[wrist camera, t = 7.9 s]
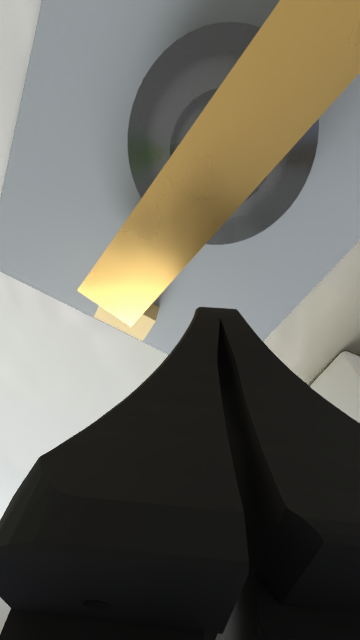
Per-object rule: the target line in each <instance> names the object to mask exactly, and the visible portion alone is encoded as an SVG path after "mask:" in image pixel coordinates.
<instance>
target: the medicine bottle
mask: <svg viewBox="0 0 360 640" xmlns="http://www.w3.org/2000/svg"><path fill="white" fill-rule="evenodd" d="M310 387H311V388H312V389H313V390H314V391H316V392H317V393H318V394H320V395H321V396H322V397H323V398H325V399H326V400H327V401H329V402H330V403H332V404H333V405H334V406H336V407H337V408H339V409H340V410H341V411H343V412H344V413H346V414H347V415H348V416H350V417H351V418H353V419H354V420H356V421H357V422H359V423H360V356H357V355H355V354H352V353H350V352H347V351H344V352H342V353H340V354H339V355H338V356H337V357H336V358H335V359H334V361H333V362H332V363H331V364H330V365H329V366H328V367H327V368H326V369H325V370H324V371H323V372H322V373H321V374H320V375H319V377H318V378H317V379H316V380H315V381H314V382H313V383H312V384H311V385H310Z"/></svg>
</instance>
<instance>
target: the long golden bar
mask: <svg viewBox="0 0 360 640" xmlns="http://www.w3.org/2000/svg"><path fill="white" fill-rule="evenodd" d="M359 73H360V0H280V1H279V2H278V4H277V5H276V7H275V8H274V10H273V11H272V12H271V14H270V15H269V17H268V18H267V20H266V21H265V22H264V24H263V25H262V27H261V28H260V27H257V26H254V25H251V24H248V23H240V22H220V23H214V24H210V25H206V26H202V27H200V28H198V29H196V30H193V31H191V32H189V33H187V34H186V35H184V36H182V37H181V38H179V39H178V40H176V41H175V42H174V43H173V44H171V45H170V46H169V47H168V48H167V49H166V50H165V51H164V52H163V53H162V54H161V55H160V56H159V57H158V58H157V60H156V61H155V62H154V63H153V65H152V66H151V68H150V69H149V71H148V72H147V74H146V75H145V77H144V79H143V81H142V83H141V85H140V87H139V89H138V91H137V94H136V97H135V100H134V102H133V105H132V110H131V114H130V118H129V126H128V158H129V165H130V169H131V174H132V177H133V180H134V183H135V186H136V189H137V191H138V193H139V195H140V197H141V200H140V201H139V203H138V204H137V206H136V207H135V208H134V210H133V211H132V213H131V214H130V216H129V217H128V218H127V220H126V221H125V223H124V224H123V226H122V227H121V228H120V230H119V231H118V233H117V234H116V236H115V237H114V238H113V240H112V241H111V243H110V244H109V246H108V247H107V248H106V250H105V251H104V253H103V254H102V256H101V257H100V258H99V260H98V261H97V263H96V264H95V266H94V267H93V268H92V270H91V271H90V273H89V274H88V276H87V277H86V278H85V280H84V281H83V283H82V284H81V286H80V287H79V288H78V290H77V291H79V292H80V293H82V294H83V295H85V296H86V297H88V298H89V299H90V300H92V301H93V302H95V303H96V304H98V305H99V306H101V307H102V308H104V309H105V310H107V311H108V312H110V313H111V314H113V315H114V316H115V317H117V318H118V319H120V320H121V321H123V322H124V323H126V324H127V325H129V326H130V327H131V326H132V325H133V324H134V323H135V322H136V321H137V320H138V319H139V317H140V316H141V315H142V314H143V313H144V312H145V311H146V310H147V309H148V307H149V306H150V305H151V304H152V303H153V302H154V301H155V300H156V299H157V297H158V296H159V295H160V294H161V293H162V292H163V291H164V290H165V289H166V287H167V286H168V285H169V284H170V283H171V282H172V281H173V280H174V279H175V277H176V276H177V275H178V274H179V273H180V272H181V271H182V270H183V269H184V267H185V266H186V265H187V264H188V263H189V262H190V261H191V260H192V259H193V257H194V256H195V255H196V254H197V253H198V252H199V251H200V250H201V249H202V247H203V246H204V245H205V244H208V245H224V244H231V243H236V242H239V241H243V240H246V239H248V238H251V237H253V236H255V235H257V234H259V233H260V232H262V231H264V230H265V229H267V228H268V227H270V226H271V225H272V224H274V223H275V222H276V221H277V220H278V219H279V218H280V217H281V216H283V214H284V213H285V212H286V211H287V210H288V209H289V208H290V207H291V205H292V204H293V202H294V201H295V200H296V198H297V197H298V196H299V194H300V192H301V190H302V188H303V187H304V185H305V183H306V181H307V178H308V176H309V174H310V171H311V168H312V165H313V162H314V159H315V155H316V149H317V144H318V134H319V117H320V116H321V115H322V114H323V113H324V112H325V111H326V110H327V109H328V107H329V106H330V105H331V104H332V103H333V102H334V101H335V100H336V99H337V98H338V96H339V95H340V94H341V93H342V92H343V91H344V90H345V89H346V88H347V86H348V85H349V84H350V83H351V82H352V81H353V80H354V79H355V78H356V76H357V75H358V74H359Z"/></svg>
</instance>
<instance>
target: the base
mask: <svg viewBox="0 0 360 640" xmlns="http://www.w3.org/2000/svg"><path fill="white" fill-rule="evenodd" d="M279 1H280V0H42V4H41V9H40V13H39V18H38V23H37V28H36V32H35V37H34V42H33V47H32V51H31V56H30V61H29V65H28V70H27V75H26V80H25V84H24V89H23V94H22V99H21V103H20V108H19V113H18V118H17V122H16V127H15V132H14V137H13V141H12V146H11V151H10V155H9V160H8V165H7V170H6V174H5V179H4V184H3V189H2V193H1V198H0V272H2V273H4V274H6V275H8V276H10V277H12V278H14V279H16V280H18V281H21V282H23V283H25V284H27V285H29V286H31V287H33V288H35V289H37V290H39V291H41V292H43V293H45V294H47V295H49V296H51V297H53V298H55V299H57V300H59V301H61V302H63V303H65V304H67V305H69V306H71V307H73V308H75V309H77V310H79V311H81V312H83V313H85V314H87V315H89V316H91V317H93V318H95V319H97V320H99V321H101V322H103V323H105V324H108V325H110V326H112V327H114V328H116V329H118V330H120V331H122V332H124V333H126V334H128V335H130V336H132V337H134V338H136V339H138V340H140V341H142V342H144V343H146V344H148V345H150V346H152V347H154V348H156V349H158V350H160V351H162V352H164V353H166V354H168V355H169V354H170V353H171V351H172V350H173V349H174V348H175V346H176V345H177V344H178V342H179V341H180V339H181V338H182V336H183V335H184V333H185V331H186V330H187V328H188V327H189V325H190V323H191V321H192V319H193V317H194V314H195V310H196V309H197V308H198V307H212V308H228V309H237V310H238V311H239V312H240V314H241V315H242V316H243V318H244V319H245V320H246V322H247V323H248V324H249V325H250V327H251V328H252V329H253V331H254V332H255V333H256V334H257V335H258V337H259V338H260V339H261V340H262V341H264V340H265V339H266V338H267V337H268V336H269V335H270V334H271V332H272V331H273V330H274V329H275V328H276V327H277V326H278V325H279V324H280V323H281V322H282V321H283V320H284V319H285V318H286V317H287V316H288V315H289V314H290V313H291V311H292V310H293V309H294V308H295V307H296V306H297V305H298V304H299V303H300V302H301V301H302V300H303V299H304V298H305V297H306V296H307V295H308V294H309V293H310V292H311V291H312V289H313V288H314V287H315V286H316V285H317V284H318V283H319V282H320V281H321V280H322V279H323V278H324V277H325V276H326V275H327V274H328V273H329V272H330V271H331V270H332V268H333V267H334V266H335V265H336V264H337V263H338V262H339V261H340V260H341V259H342V258H343V257H344V256H345V255H346V254H347V253H348V252H349V251H350V250H351V249H352V248H353V246H354V245H355V244H356V243H357V242H358V241H359V240H360V73H359V74H358V75H357V76H356V78H355V79H354V80H353V81H352V82H351V83H350V84H349V85H348V86H347V88H346V89H345V90H344V91H343V92H342V93H341V94H340V95H339V96H338V98H337V99H336V100H335V101H334V102H333V103H332V104H331V105H330V106H329V107H328V109H327V110H326V111H325V112H324V113H323V114H322V115H321V116H320V117H319V134H318V144H317V149H316V155H315V159H314V162H313V165H312V168H311V171H310V174H309V176H308V178H307V181H306V183H305V185H304V187H303V188H302V190H301V192H300V194H299V196H298V197H297V198H296V200H295V201H294V202H293V204H292V205H291V207H290V208H289V209H288V210H287V211H286V212H285V213H284V214H283V216H281V217H280V218H279V219H278V220H277V221H276V222H275V223H274V224H272V225H271V226H270V227H268V228H267V229H265V230H264V231H262V232H260V233H259V234H257V235H255V236H253V237H251V238H248V239H246V240H243V241H239V242H236V243H231V244H224V245H208V244H205V245H204V246H203V247H202V249H201V250H200V251H199V252H198V253H197V254H196V255H195V256H194V257H193V259H192V260H191V261H190V262H189V263H188V264H187V265H186V266H185V267H184V269H183V270H182V271H181V272H180V273H179V274H178V275H177V276H176V277H175V279H174V280H173V281H172V282H171V283H170V284H169V285H168V286H167V287H166V289H165V290H164V291H163V292H162V293H161V294H160V295H159V296H158V297H157V299H156V300H155V301H154V302H153V303H152V304H151V305H150V306H149V307H148V309H147V310H146V311H145V312H144V313H143V314H142V315H141V316H140V317H139V319H138V320H137V321H136V322H135V323H134V324H133V325H132V326H131V327H130V326H129V325H127V324H126V323H124V322H123V321H121V320H120V319H118V318H117V317H115V316H114V315H113V314H111V313H110V312H108V311H107V310H105V309H104V308H102V307H101V306H99V305H98V304H96V303H95V302H93V301H92V300H90V299H89V298H88V297H86V296H85V295H83V294H82V293H80V292H79V291H77V290H78V288H79V287H80V286H81V284H82V283H83V281H84V280H85V278H86V277H87V276H88V274H89V273H90V271H91V270H92V268H93V267H94V266H95V264H96V263H97V261H98V260H99V258H100V257H101V256H102V254H103V253H104V251H105V250H106V248H107V247H108V246H109V244H110V243H111V241H112V240H113V238H114V237H115V236H116V234H117V233H118V231H119V230H120V228H121V227H122V226H123V224H124V223H125V221H126V220H127V218H128V217H129V216H130V214H131V213H132V211H133V210H134V208H135V207H136V206H137V204H138V203H139V201H140V200H141V197H140V195H139V193H138V191H137V189H136V186H135V183H134V180H133V177H132V174H131V169H130V165H129V158H128V126H129V118H130V114H131V110H132V105H133V102H134V100H135V97H136V94H137V91H138V89H139V87H140V85H141V83H142V81H143V79H144V77H145V75H146V74H147V72H148V71H149V69H150V68H151V66H152V65H153V63H154V62H155V61H156V60H157V58H158V57H159V56H160V55H161V54H162V53H163V52H164V51H165V50H166V49H167V48H168V47H169V46H170V45H171V44H173V43H174V42H175V41H176V40H178V39H179V38H181V37H182V36H184V35H186V34H187V33H189V32H191V31H193V30H196V29H198V28H200V27H202V26H206V25H210V24H214V23H220V22H240V23H248V24H251V25H254V26H257V27H260V28H261V27H262V25H263V24H264V22H265V21H266V20H267V18H268V17H269V15H270V14H271V12H272V11H273V10H274V8H275V7H276V5H277V4H278V2H279Z"/></svg>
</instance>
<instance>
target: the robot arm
mask: <svg viewBox="0 0 360 640" xmlns="http://www.w3.org/2000/svg"><path fill="white" fill-rule="evenodd" d="M0 597H1V598H2V599H3V600H4V601H5V602H6V603H7V604H8V605H9V606H10V607H11V610H10V612H9V615H8V617H7V620H6V622H5V624H4V627H3V629H2V632H1V634H0V640H215V639H216V636H217V634H218V633H220V634H222V640H360V423H359V422H357V421H356V420H354V419H353V418H351V417H350V416H348V415H347V414H346V413H344V412H343V411H341V410H340V409H339V408H337V407H336V406H334V405H333V404H332V403H330V402H329V401H327V400H326V399H325V398H323V397H322V396H321V395H320V394H318V393H317V392H316V391H314V390H313V389H312V388H311V387H310V386H308V385H307V384H306V383H305V382H304V381H302V380H301V379H300V378H299V377H298V376H297V375H295V374H294V373H293V372H292V371H291V370H290V369H289V368H288V367H287V366H286V365H285V364H284V363H283V362H282V361H281V360H280V359H279V358H278V357H277V356H276V355H275V354H274V353H273V352H272V351H271V350H270V349H269V348H268V347H267V346H266V345H265V344H264V342H263V341H262V340H261V339H260V338H259V337H258V335H257V334H256V333H255V332H254V331H253V329H252V328H251V327H250V325H249V324H248V323H247V322H246V320H245V319H244V318H243V316H242V315H241V314H240V312H239V311H238V310H237V309H228V308H212V307H198V308H197V309H196V310H195V314H194V317H193V319H192V321H191V323H190V325H189V327H188V328H187V330H186V331H185V333H184V335H183V336H182V338H181V339H180V341H179V342H178V344H177V345H176V346H175V348H174V349H173V350H172V351H171V353H170V354H169V355H168V357H167V358H166V359H165V360H164V361H163V363H162V364H161V365H160V366H159V367H158V368H157V369H156V370H155V371H154V372H153V373H152V374H151V375H150V376H149V377H148V378H147V379H146V380H145V381H144V382H143V383H142V384H141V385H140V386H139V387H138V388H137V389H136V390H135V391H133V392H132V393H131V394H130V395H129V396H128V397H126V398H125V399H124V400H123V401H122V402H120V403H119V404H118V405H116V406H115V407H114V408H112V409H111V410H110V411H108V412H107V413H106V414H105V415H103V416H102V417H101V418H99V419H98V420H97V421H95V422H94V423H92V424H91V425H90V426H88V427H87V428H85V429H84V430H82V431H81V432H79V433H77V434H76V435H74V436H73V437H71V438H70V439H68V440H66V441H65V442H63V443H62V444H60V445H59V446H57V447H56V448H54V449H52V450H51V451H49V452H47V453H46V454H44V455H42V456H40V457H39V458H38V460H37V461H36V463H35V464H34V466H33V467H32V469H31V470H30V472H29V474H28V475H27V477H26V478H25V479H24V481H23V482H22V484H21V485H20V487H19V488H18V490H17V491H16V493H15V495H14V496H13V498H12V500H11V501H10V503H9V505H8V507H7V509H6V511H5V513H4V515H3V516H2V518H1V520H0Z"/></svg>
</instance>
